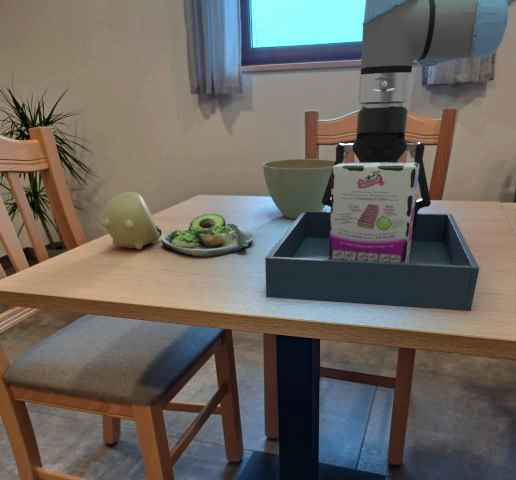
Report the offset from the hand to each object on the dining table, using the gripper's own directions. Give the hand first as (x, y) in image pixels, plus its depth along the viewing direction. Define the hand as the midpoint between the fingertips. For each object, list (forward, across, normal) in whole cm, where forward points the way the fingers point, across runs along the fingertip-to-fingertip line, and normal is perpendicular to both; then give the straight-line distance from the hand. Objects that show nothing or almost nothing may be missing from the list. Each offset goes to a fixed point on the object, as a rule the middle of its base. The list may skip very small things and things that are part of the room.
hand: (371, 246), depth 82 cm
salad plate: (+2, -32, +4) cm, 32 cm away
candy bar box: (+1, 0, -14) cm, 15 cm away
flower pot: (+2, -18, +32) cm, 36 cm away
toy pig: (+2, -46, 0) cm, 46 cm away
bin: (+2, 0, -6) cm, 7 cm away
